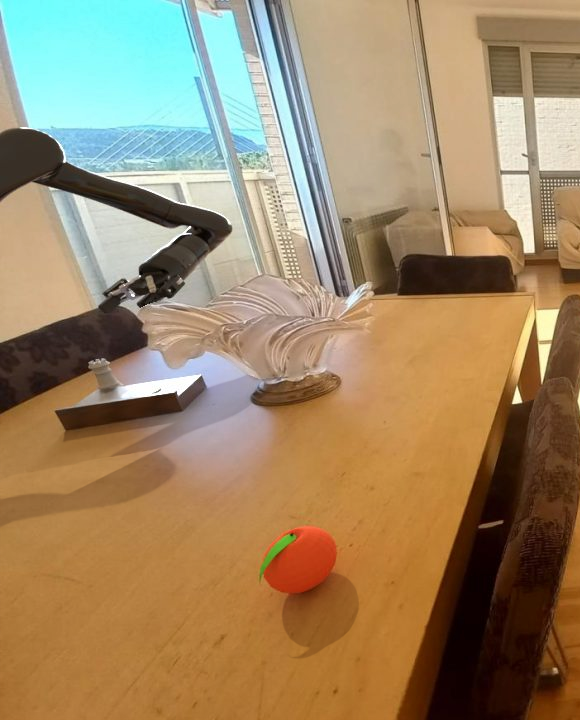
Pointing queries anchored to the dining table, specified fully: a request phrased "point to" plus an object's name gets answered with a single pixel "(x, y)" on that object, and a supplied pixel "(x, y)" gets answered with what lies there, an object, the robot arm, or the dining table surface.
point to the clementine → (299, 559)
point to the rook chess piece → (104, 374)
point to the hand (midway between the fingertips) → (122, 309)
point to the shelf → (132, 402)
